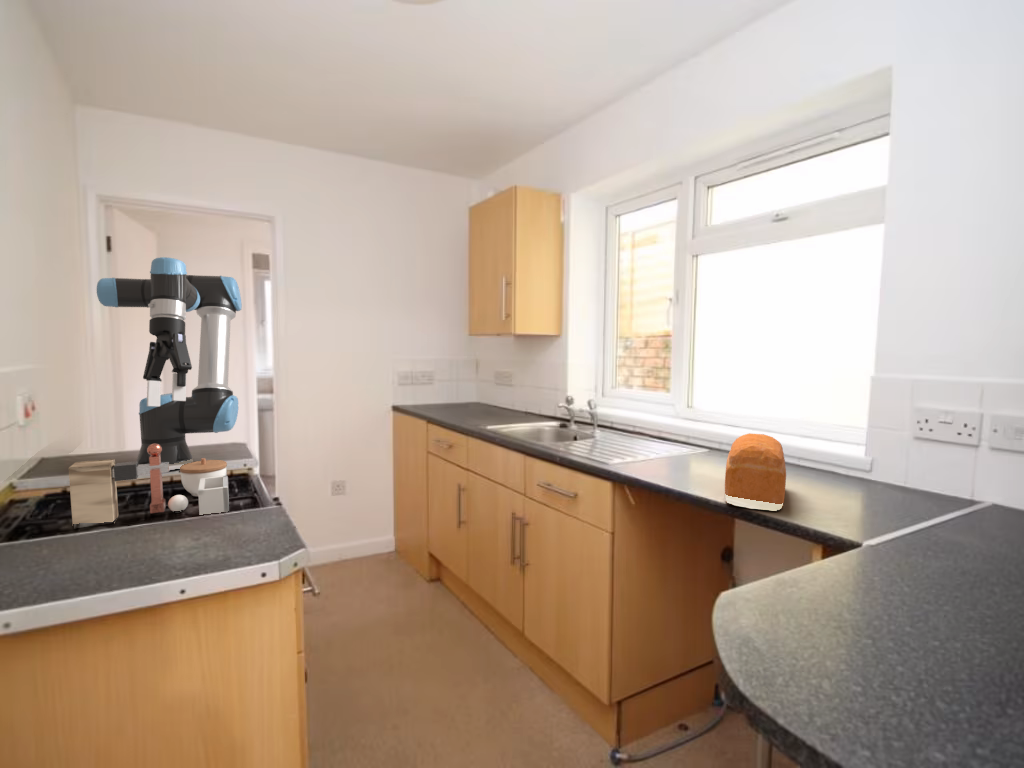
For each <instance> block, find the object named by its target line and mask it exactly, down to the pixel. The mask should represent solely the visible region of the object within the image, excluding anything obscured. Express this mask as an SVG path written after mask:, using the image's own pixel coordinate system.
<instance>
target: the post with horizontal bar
mask: <svg viewBox="0 0 1024 768" xmlns="http://www.w3.org/2000/svg"><path fill="white" fill-rule="evenodd" d="M161 451H162V447H161V446H160V445H159V444H151V445H150V446H149V447H148V448H147V452H148V453H149V454H150V455H151V456H150V457H149V460H150V464H141V465H138V461H137V460H136V461H127V462H126V461H123V462H115V465H114V467H111V472H112V478H114V479H115V481H116V482H122V481H130V480H132V481H133V480H137V479H138V478H139V476H142V475H149V476H150V479H149V480H150V493H151V494H150V496H151V501H150V504H149V512H150V514H156V513H164V512H165V510H166V505H167V503H166V498H164V489H163V488H164V487H163V473H169V472H170V471H169V462H162V463H161V456H160V453H161Z"/></svg>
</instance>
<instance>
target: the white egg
mask: <svg viewBox="0 0 1024 768" xmlns="http://www.w3.org/2000/svg"><path fill="white" fill-rule="evenodd" d="M188 506H189V499H188V498H187V497H186V496H185V495H182V494H176V495H174V496H172V497H171V498H169V500H168V502H167V507H168V509H169V510H170V511H172V512H174V511H180V512H182V511H181V510H183V511H184V510H186V509H187V508H188Z"/></svg>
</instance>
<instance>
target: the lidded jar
mask: <svg viewBox="0 0 1024 768" xmlns="http://www.w3.org/2000/svg"><path fill="white" fill-rule="evenodd" d="M227 465H228V464H227V461H225V460H222V459H206V457H203V458H202V457H201V458H200V460H198V461H193V462H191V463H187V464H184V465H182V466H181V467H180V470H179V472H180V480H181V485H182V486H183V488H184V489H185V490H186V492H187V493H189V494H191V496H193V497H198V489H199V484H200V478H209V477H218V476H227V470H228V469H227Z"/></svg>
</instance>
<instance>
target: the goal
mask: <svg viewBox="0 0 1024 768" xmlns="http://www.w3.org/2000/svg"><path fill="white" fill-rule="evenodd" d="M197 497H198V510H199V511H198V512H199V513H198V514H199V515H203V514H211V513H219V514H222V513H221V512H226V513H229V512H230V506H229V505H230V502H229V501H230V500H229V499H230V497H229V477H228V475H227V474H226V476H218V477H209V478H200V484H199V489H198V496H197ZM228 511H229V512H228ZM211 515H212V514H211Z"/></svg>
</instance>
